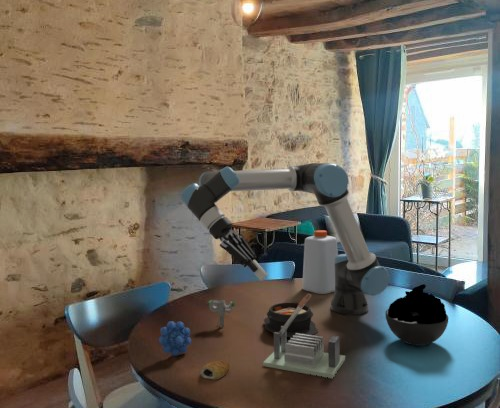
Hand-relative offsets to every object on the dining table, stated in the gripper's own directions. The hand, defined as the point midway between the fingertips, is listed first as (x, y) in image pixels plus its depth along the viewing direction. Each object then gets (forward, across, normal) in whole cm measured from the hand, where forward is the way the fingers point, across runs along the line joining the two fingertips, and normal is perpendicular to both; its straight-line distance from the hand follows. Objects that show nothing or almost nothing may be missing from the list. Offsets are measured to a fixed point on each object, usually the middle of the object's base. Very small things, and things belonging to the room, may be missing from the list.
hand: (264, 277), depth 154 cm
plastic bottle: (+14, -79, -23) cm, 84 cm away
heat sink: (+27, 0, -8) cm, 28 cm away
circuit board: (+28, 0, -9) cm, 29 cm away
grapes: (0, +11, -37) cm, 39 cm away
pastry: (+12, +17, -25) cm, 33 cm away
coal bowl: (+49, -29, +12) cm, 58 cm away
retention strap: (+15, 0, -1) cm, 16 cm away
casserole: (+18, -24, -19) cm, 36 cm away
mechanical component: (0, -18, -37) cm, 41 cm away
